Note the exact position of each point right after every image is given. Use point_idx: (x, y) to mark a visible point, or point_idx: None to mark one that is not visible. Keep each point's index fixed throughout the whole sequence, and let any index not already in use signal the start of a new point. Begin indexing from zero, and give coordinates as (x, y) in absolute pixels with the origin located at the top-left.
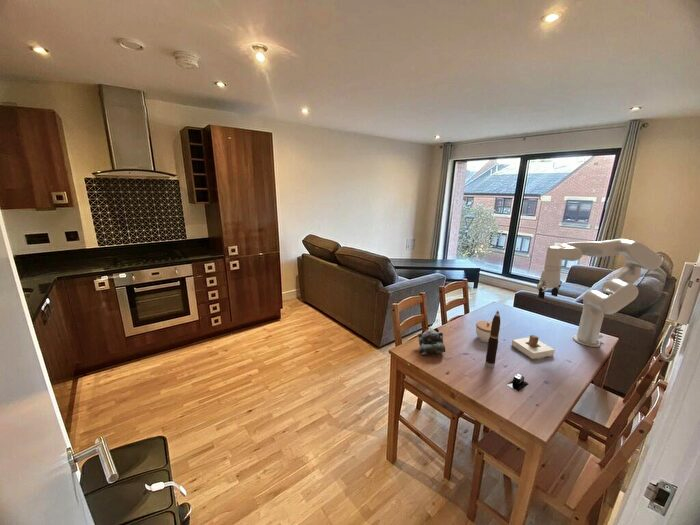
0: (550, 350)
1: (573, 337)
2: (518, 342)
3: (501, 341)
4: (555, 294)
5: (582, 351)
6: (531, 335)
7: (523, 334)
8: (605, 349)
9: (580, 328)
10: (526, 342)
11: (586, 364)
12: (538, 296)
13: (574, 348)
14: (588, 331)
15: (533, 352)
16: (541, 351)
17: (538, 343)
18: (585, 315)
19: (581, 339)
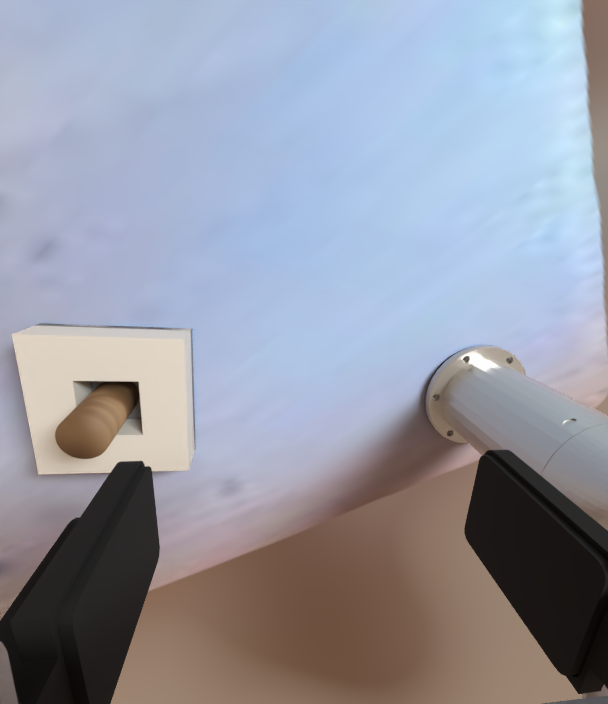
0: (160, 470)
1: (448, 364)
2: (31, 369)
3: (9, 261)
4: (489, 552)
5: (365, 448)
6: (76, 419)
7: (230, 236)
8: (471, 457)
9: (486, 413)
10: (88, 380)
11: (278, 515)
12: (115, 472)
13: (358, 423)
14: (482, 451)
15: (43, 468)
16: (100, 469)
17: (154, 407)
18: (558, 484)
19: (446, 404)
